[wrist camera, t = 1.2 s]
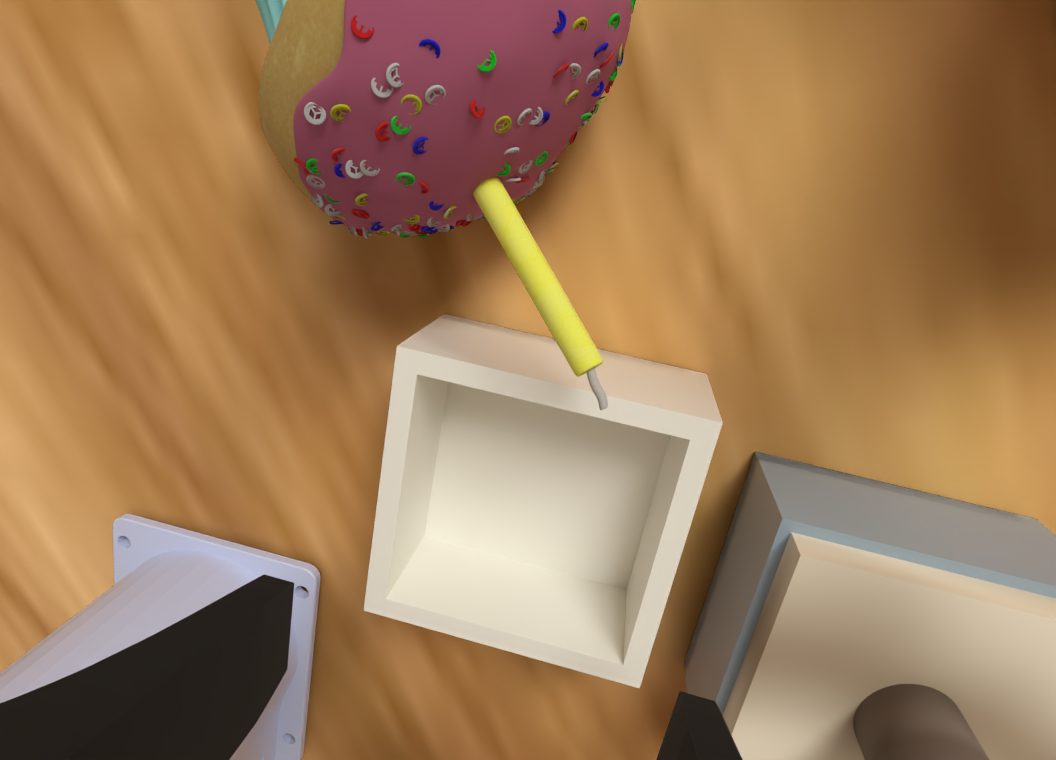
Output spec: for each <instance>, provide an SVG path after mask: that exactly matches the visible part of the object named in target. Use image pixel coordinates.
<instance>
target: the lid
mask: <svg viewBox="0 0 1056 760" xmlns="http://www.w3.org/2000/svg"><path fill="white" fill-rule="evenodd" d="M723 718H724V720H725V722H726V724H727V727H728V729H729V731H730V733H731V735H732V738H733V740H734V742H735V744H736V746H737V749H738V751H739V753H740V755H741V757H742V759H743V760H1056V598H1052V597H1048V596H1044V595H1040V594H1036V593H1032V592H1028V591H1024V590H1020V589H1016V588H1012V587H1008V586H1004V585H1000V584H996V583H992V582H988V581H984V580H980V579H976V578H972V577H968V576H964V575H960V574H956V573H952V572H948V571H944V570H940V569H936V568H932V567H928V566H924V565H920V564H916V563H912V562H908V561H904V560H900V559H896V558H892V557H888V556H884V555H880V554H876V553H872V552H868V551H864V550H860V549H856V548H852V547H848V546H844V545H840V544H836V543H832V542H828V541H824V540H820V539H817V538H813V537H809V536H805V535H801V534H797V533H793V532H791V534H790V536H789V539H788V542H787V544H786V547H785V550H784V552H783V555H782V558H781V560H780V563H779V566H778V568H777V571H776V574H775V576H774V579H773V582H772V584H771V587H770V590H769V592H768V595H767V598H766V600H765V603H764V606H763V609H762V611H761V614H760V617H759V619H758V622H757V625H756V627H755V630H754V633H753V635H752V638H751V641H750V643H749V646H748V649H747V651H746V654H745V657H744V659H743V662H742V665H741V667H740V670H739V673H738V675H737V678H736V681H735V683H734V686H733V689H732V691H731V694H730V697H729V699H728V702H727V705H726V707H725V710H724V713H723Z"/></svg>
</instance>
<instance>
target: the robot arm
mask: <svg viewBox="0 0 1056 760" xmlns="http://www.w3.org/2000/svg"><path fill="white" fill-rule="evenodd" d="M127 538H128V539H129V540H130V541H129V540H128V539H127ZM113 554H114V586H112V587H111V588H110V589H108V590H107V591H106V592H105V593H103V594H102V595H101V596H99V597H98V598H97V599H95V600H94V601H93V602H92V603H90V604H89V605H88V606H86V607H85V608H84V609H82V610H81V611H80V612H78V613H77V614H76V615H75V616H73V617H72V618H71V619H69V620H68V621H67V622H65V623H64V624H63V625H62V626H60V627H59V628H58V629H56V630H55V631H54V632H52V633H51V634H50V635H48V636H47V637H46V638H45V639H43V640H42V641H41V642H39V643H38V644H37V645H35V646H34V647H33V648H32V649H30V650H29V651H28V652H26V653H25V654H24V655H22V656H21V657H20V658H18V659H17V660H16V661H15V662H13V663H12V664H11V665H9V666H8V667H7V668H5V669H4V670H3V671H2V672H0V760H301V758H302V756H303V754H304V743H305V733H306V723H307V713H308V702H309V692H310V682H311V672H312V661H313V651H314V641H315V630H316V620H317V610H318V600H319V589H320V579H321V578H320V573H319V571H318V569H317V568H316V567H315V566H313V565H311V564H309V563H306V562H302V561H299V560H295V559H291V558H288V557H284V556H281V555H277V554H273V553H270V552H266V551H263V550H259V549H255V548H252V547H248V546H244V545H241V544H237V543H234V542H230V541H226V540H223V539H219V538H216V537H212V536H208V535H205V534H201V533H198V532H194V531H190V530H187V529H183V528H180V527H176V526H172V525H169V524H165V523H161V522H158V521H154V520H151V519H147V518H143V517H140V516H136V515H133V514H124V515H122V516H120V517H119V518H117V519H116V520H115V521H114V522H113ZM301 586H303V587H305V588H306V589H307V590H308V592H306V591H304V590H303V589H302V588H301ZM657 760H743V759H742V757H741V755H740V753H739V751H738V749H737V746H736V744H735V742H734V740H733V738H732V735H731V733H730V731H729V729H728V727H727V724H726V722H725V720H724V718H723V715H722V713H721V711H720V709H719V707H718V705H717V704H716V702H715V701H713V700H709V699H706V698H702V697H699V696H695V695H692V694H688V693H685V692H681V691H680V692H679V695H678V698H677V701H676V704H675V707H674V710H673V713H672V716H671V719H670V722H669V725H668V728H667V731H666V734H665V737H664V739H663V742H662V745H661V748H660V751H659V754H658V757H657Z"/></svg>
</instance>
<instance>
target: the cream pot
mask: <svg viewBox="0 0 1056 760" xmlns="http://www.w3.org/2000/svg"><path fill="white" fill-rule="evenodd" d="M597 350H598V351H599V353H600V355H601V357H602V359H603V363H602V364H601V365H599V366H598V367H596V368H595V370H596V374H597V378H598V380H599V383H600V385H601V387H602V388H603V390H604V392H605V394H606V397H607V401H608V407H607V408H606V409H603V410H600V409H599V403H598V400H597V398H596V396H595V394H594V393H593V391H592V389H591V386H590V384H589V381H588V377H587V373H586V374H584V375H581V376H579V377H577V376H576V375H575V374H574V372H573V371H572V369H571V367H570V365H569V364H568V362H567V360H566V358H565V357H564V355H563V353H562V351H561V350H560V348H559V346H558V344H557V342H556V341H555V339H553V338H548V337H544V336H539V335H535V334H531V333H526V332H522V331H518V330H513V329H509V328H505V327H500V326H496V325H491V324H487V323H483V322H478V321H474V320H470V319H465V318H461V317H457V316H452V315H448V314H443V315H442V316H440V317H439V318H437V319H436V320H435V321H433V322H432V323H430V324H429V325H427V326H426V327H424V328H423V329H421V330H420V331H418V332H417V333H415V334H414V335H412V336H411V337H409V338H408V339H406V340H405V341H403V342H402V343H400V344H399V345H398V346H397V349H396V357H395V365H394V373H393V381H392V389H391V397H390V405H389V413H388V421H387V428H386V436H385V444H384V452H383V460H382V468H381V476H380V484H379V492H378V500H377V508H376V516H375V524H374V532H373V540H372V547H371V555H370V563H369V571H368V579H367V587H366V595H365V603H364V611H367V612H371V613H374V614H378V615H381V616H385V617H389V618H392V619H396V620H399V621H403V622H406V623H410V624H413V625H417V626H420V627H424V628H428V629H431V630H435V631H438V632H442V633H445V634H449V635H452V636H456V637H459V638H463V639H466V640H470V641H474V642H477V643H481V644H484V645H488V646H491V647H495V648H498V649H502V650H505V651H509V652H512V653H516V654H520V655H523V656H527V657H530V658H534V659H537V660H541V661H544V662H548V663H551V664H555V665H558V666H562V667H566V668H569V669H573V670H576V671H580V672H583V673H587V674H590V675H594V676H597V677H601V678H604V679H608V680H612V681H615V682H619V683H622V684H626V685H629V686H633V687H636V688H640V685H641V682H642V679H643V676H644V672H645V669H646V666H647V663H648V660H649V657H650V653H651V650H652V647H653V644H654V641H655V637H656V634H657V631H658V628H659V625H660V621H661V618H662V615H663V612H664V609H665V605H666V602H667V599H668V596H669V593H670V589H671V586H672V583H673V580H674V577H675V574H676V570H677V567H678V564H679V561H680V558H681V554H682V551H683V548H684V545H685V542H686V538H687V535H688V532H689V529H690V526H691V522H692V519H693V516H694V513H695V510H696V506H697V503H698V500H699V497H700V494H701V491H702V487H703V484H704V481H705V478H706V475H707V471H708V468H709V465H710V462H711V459H712V455H713V452H714V449H715V446H716V443H717V439H718V436H719V433H720V430H721V427H722V423H723V422H722V419H721V416H720V413H719V410H718V407H717V404H716V401H715V398H714V395H713V392H712V389H711V385H710V382H709V379H708V376H707V374H705V373H701V372H697V371H692V370H688V369H684V368H679V367H675V366H670V365H666V364H662V363H657V362H653V361H649V360H644V359H640V358H636V357H631V356H627V355H622V354H618V353H614V352H609V351H605V350H601V349H597Z"/></svg>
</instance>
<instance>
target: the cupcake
mask: <svg viewBox="0 0 1056 760" xmlns="http://www.w3.org/2000/svg"><path fill="white" fill-rule="evenodd" d="M635 1H636V0H256V3H257V5H258V8H259V11H260V14H261V17H262V20H263V23H264V26H265V29H266V32H267V35H268V38H269V42H270V47H269V49H268V52H267V55H266V58H265V62H264V65H263V69H262V74H261V80H260V87H259V100H258V103H259V114H260V121H261V125H262V129H263V132H264V134H265V136H266V138H267V140H268V142H269V144H270V146H271V148H272V150H273V152H274V154H275V155H276V157H277V159H278V160H279V162H280V164H281V165H282V167H283V168H284V169H285V171H286V172H287V174H288V175H289V177H290V178H291V179H292V181H293V182H294V183H295V184H296V185H297V187H298V188H299V189H300V190H301V191H302V192H303V193H304V194H305V195H306V196H307V197H308V198H309V199H310V200H312V201H313V202H314V204H315V205H316V206H318V207H319V208H320V209H321V210H323V211H324V212H325V213H326V214H327V215H329V216H330V217H332V218H333V219H334V220H336V221H330V224H343V225H346V226H348V228H349V230H350V231H351V233H352V234H353V235H357V233H358V234H359V235H360V236H363V235H364V238H365V239H367V238H368V236H371V235H372V234H373V231H374V232H375V233H377V234H379V235H383V236H386V235H389V232H391V233H394V234H396V235H400V237H408V236H414V235H417V236H419V237H422V238H426V237H427V236H428V235H429V234H433V233H436V232H437V231H443V232H446V231H448V230H449V229H454V227H453V226H454V225H457V226H460V225H461V226H466V225H468V224H470V223H471V222H472V221H473V219H474V220H478V219H481V218H486V219H487V221H488V222H489V224H490V226H491V228H492V230H493V231H494V233H495V235H496V237H497V238H498V240H499V242H500V244H501V245H502V247H503V249H504V251H505V252H506V254H507V256H508V258H509V260H510V261H511V263H512V265H513V267H514V268H515V270H516V272H517V274H518V275H519V277H520V279H521V281H522V282H523V284H524V286H525V288H526V290H527V291H528V293H529V295H530V297H531V298H532V300H533V302H534V304H535V305H536V307H537V309H538V311H539V312H540V314H541V316H542V318H543V320H544V321H545V323H546V325H547V327H548V328H549V330H550V332H551V334H552V335H553V337H554V339H555V341H556V342H557V344H558V346H559V348H560V350H561V351H562V353H563V355H564V357H565V358H566V360H567V362H568V364H569V365H570V367H571V369H572V371H573V372H574V374H575V375H576V376H577V377H579V376H581V375H584V374H586V373H587V377H588V381H589V384H590V386H591V389H592V391H593V393H594V394H595V396H596V398H597V400H598V403H599V409H600V410H603V409H606V408H607V407H608V401H607V397H606V394H605V392H604V390H603V388H602V387H601V385H600V383H599V380H598V378H597V374H596V370H595V368H596V367H598V366H599V365H601V364H602V363H603V359H602V357H601V355H600V353H599V351H598V350H597V348H596V346H595V345H594V343H593V341H592V339H591V338H590V336H589V334H588V332H587V331H586V329H585V327H584V325H583V324H582V322H581V320H580V318H579V317H578V315H577V313H576V311H575V310H574V308H573V306H572V304H571V303H570V301H569V299H568V297H567V296H566V294H565V292H564V290H563V289H562V287H561V285H560V283H559V282H558V280H557V278H556V276H555V275H554V273H553V271H552V270H551V268H550V266H549V264H548V263H547V261H546V259H545V257H544V256H543V254H542V252H541V250H540V249H539V247H538V245H537V243H536V242H535V240H534V238H533V236H532V235H531V233H530V231H529V229H528V228H527V226H526V224H525V222H524V221H523V219H522V217H521V215H520V214H519V212H518V210H517V208H516V207H515V206H516V205H517V204H518V202H520V201H522V200H524V199H525V198H526V196H529V195H530V194H532V193H533V192H535V190H536V189H537V187H539V186H541V185H542V183H543V182H544V179H545V174H546V173H549V172H552V171H554V168H552V167H554V166H556V165H558V162H555V163H554V161H555V160H556V159H557V157H558V156H559V155H560V154H561V152H562V151H563V150H564V149H565V147H566V146H567V145H571V144H572V143H573V141H574V139H575V137H576V134H577V131H578V129H579V128H581V127H582V126H583V125H584V124H587V123H588V121H589V118H590V117H591V116H592V114H594V113H596V111H597V109H598V106H599V103H601V102H603V101H605V100H606V99H607V98H606V97H601V95H602V93H603V92H604V90H605V92H606V93H608V92H609V89H610V86H612V84H613V82H614V79H615V78H616V76H617V67H618V66H620V65H621V63H622V60H623V51H624V47H625V44H626V40H627V36H628V32H629V27H630V21H631V15H632V13H633V9H634V5H635ZM600 97H601V98H600ZM594 107H595V108H594ZM593 108H594V110H592V109H593ZM550 168H551V169H550ZM538 182H539V183H538ZM524 195H526V196H524ZM429 231H430V232H429ZM404 234H406V235H404ZM421 234H424V235H421Z"/></svg>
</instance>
